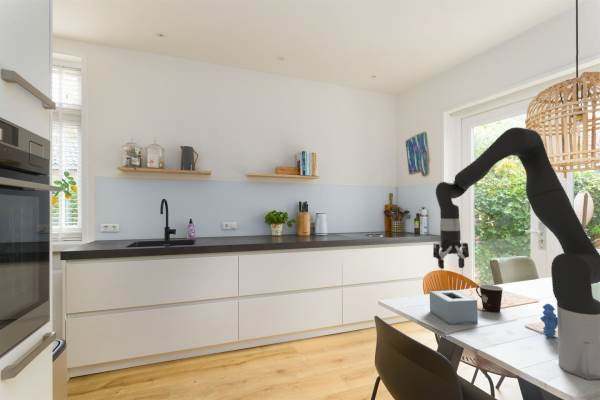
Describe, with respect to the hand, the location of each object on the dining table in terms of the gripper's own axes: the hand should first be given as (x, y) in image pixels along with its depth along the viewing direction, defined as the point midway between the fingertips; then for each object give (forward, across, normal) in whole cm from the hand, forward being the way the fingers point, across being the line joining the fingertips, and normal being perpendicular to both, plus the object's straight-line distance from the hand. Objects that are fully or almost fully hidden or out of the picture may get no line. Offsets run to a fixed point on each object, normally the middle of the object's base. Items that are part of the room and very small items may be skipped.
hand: (451, 268), depth 123 cm
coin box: (+20, 0, 0) cm, 20 cm away
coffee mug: (+21, +22, +7) cm, 31 cm away
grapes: (+21, +23, -22) cm, 38 cm away
